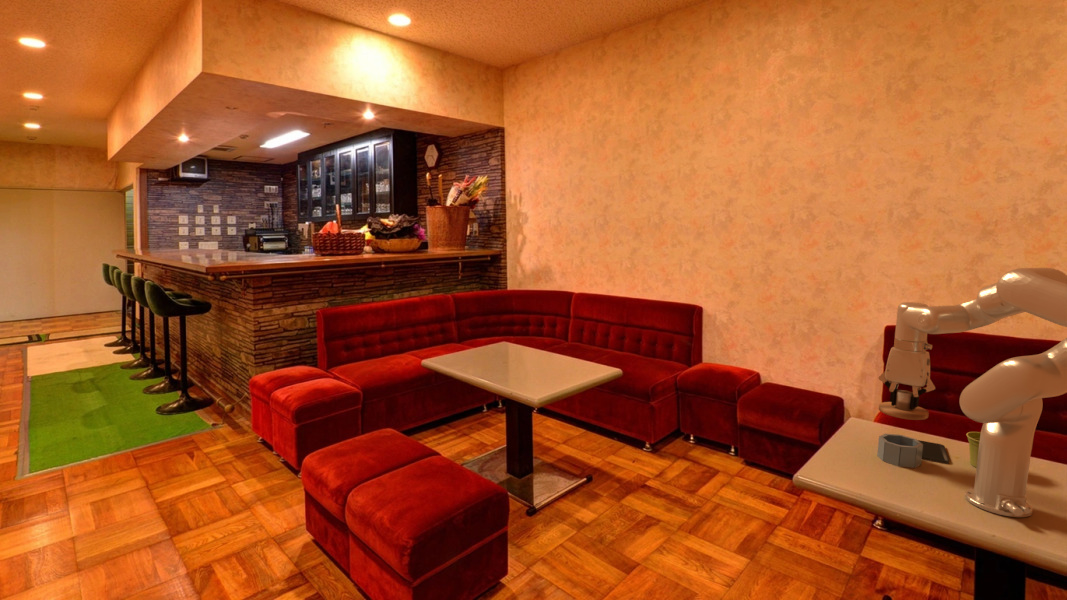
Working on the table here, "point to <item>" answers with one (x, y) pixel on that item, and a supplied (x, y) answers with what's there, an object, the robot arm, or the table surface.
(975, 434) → the plant pot
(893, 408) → the lid
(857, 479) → the table surface
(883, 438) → the bowl
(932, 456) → the phone
